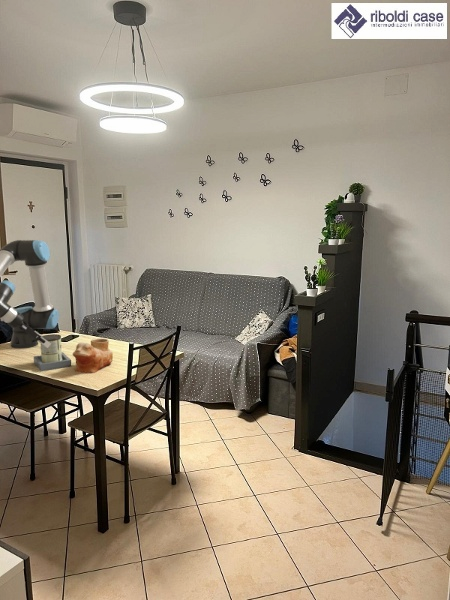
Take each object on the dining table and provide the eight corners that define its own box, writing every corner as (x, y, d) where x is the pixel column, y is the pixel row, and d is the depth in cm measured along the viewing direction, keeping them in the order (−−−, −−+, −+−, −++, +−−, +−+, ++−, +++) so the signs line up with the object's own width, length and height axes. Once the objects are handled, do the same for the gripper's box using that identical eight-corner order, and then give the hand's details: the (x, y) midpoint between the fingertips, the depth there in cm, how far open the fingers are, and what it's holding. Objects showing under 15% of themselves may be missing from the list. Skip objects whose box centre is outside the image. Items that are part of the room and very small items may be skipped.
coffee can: (39, 361, 235) (38, 335, 233) (59, 358, 241) (58, 333, 238) (43, 366, 227) (42, 340, 224) (64, 363, 232) (63, 337, 230)
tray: (33, 362, 237) (33, 356, 236) (62, 358, 245) (62, 352, 244) (41, 371, 223) (40, 364, 222) (71, 366, 231) (71, 359, 230)
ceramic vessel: (65, 373, 220) (63, 344, 217) (97, 359, 244) (96, 332, 242) (89, 377, 215) (87, 347, 213) (118, 361, 240) (118, 334, 237)
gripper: (2, 318, 228) (35, 343, 239) (11, 328, 208) (46, 354, 219) (13, 307, 230) (45, 332, 241) (22, 316, 210) (57, 342, 221)
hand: (46, 342), depth 230 cm, fingers open, 13 cm apart
